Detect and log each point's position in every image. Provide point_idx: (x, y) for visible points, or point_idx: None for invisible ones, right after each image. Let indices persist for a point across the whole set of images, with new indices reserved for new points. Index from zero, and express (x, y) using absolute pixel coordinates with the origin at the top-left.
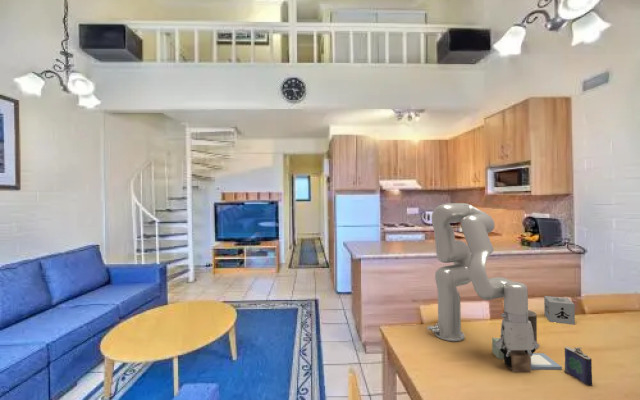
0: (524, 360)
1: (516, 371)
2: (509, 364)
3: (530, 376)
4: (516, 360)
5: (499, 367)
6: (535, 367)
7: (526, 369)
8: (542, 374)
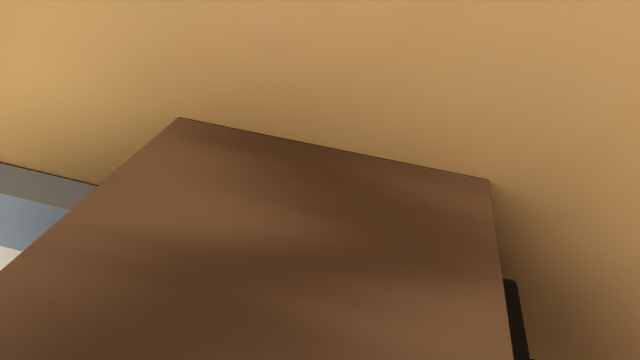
0: (182, 286)
1: (428, 180)
2: (522, 328)
3: (258, 5)
4: (416, 345)
5: (590, 355)
6: (28, 190)
7: (225, 158)
8: (10, 27)
